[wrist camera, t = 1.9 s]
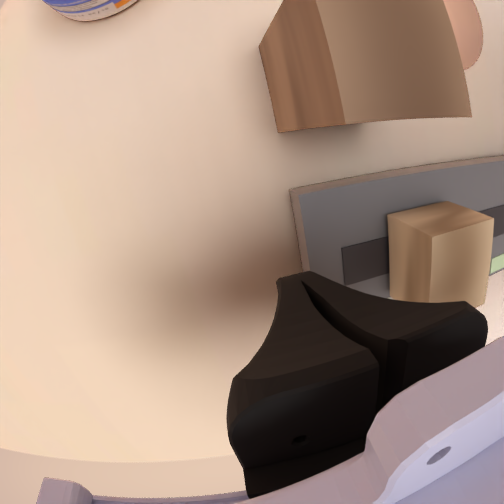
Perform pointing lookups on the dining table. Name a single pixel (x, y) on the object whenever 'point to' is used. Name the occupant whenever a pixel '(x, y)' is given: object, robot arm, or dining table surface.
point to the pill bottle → (88, 8)
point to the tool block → (362, 63)
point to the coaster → (466, 29)
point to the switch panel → (375, 216)
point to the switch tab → (440, 254)
